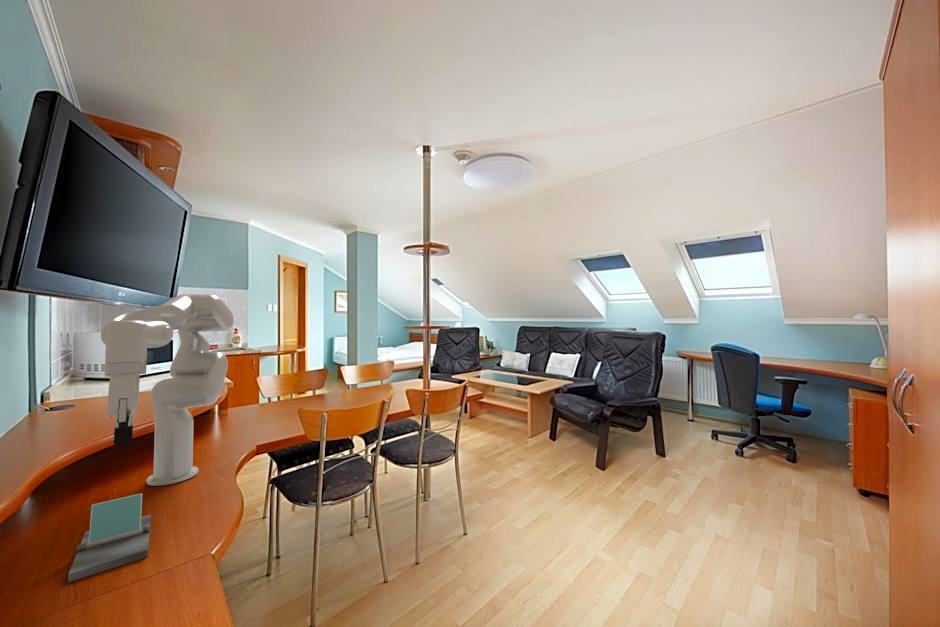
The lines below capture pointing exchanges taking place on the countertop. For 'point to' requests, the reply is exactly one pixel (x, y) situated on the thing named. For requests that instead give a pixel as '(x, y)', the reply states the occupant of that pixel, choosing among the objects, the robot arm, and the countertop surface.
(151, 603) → the countertop surface
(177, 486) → the countertop surface
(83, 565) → the board
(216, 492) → the countertop surface
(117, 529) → the tile
